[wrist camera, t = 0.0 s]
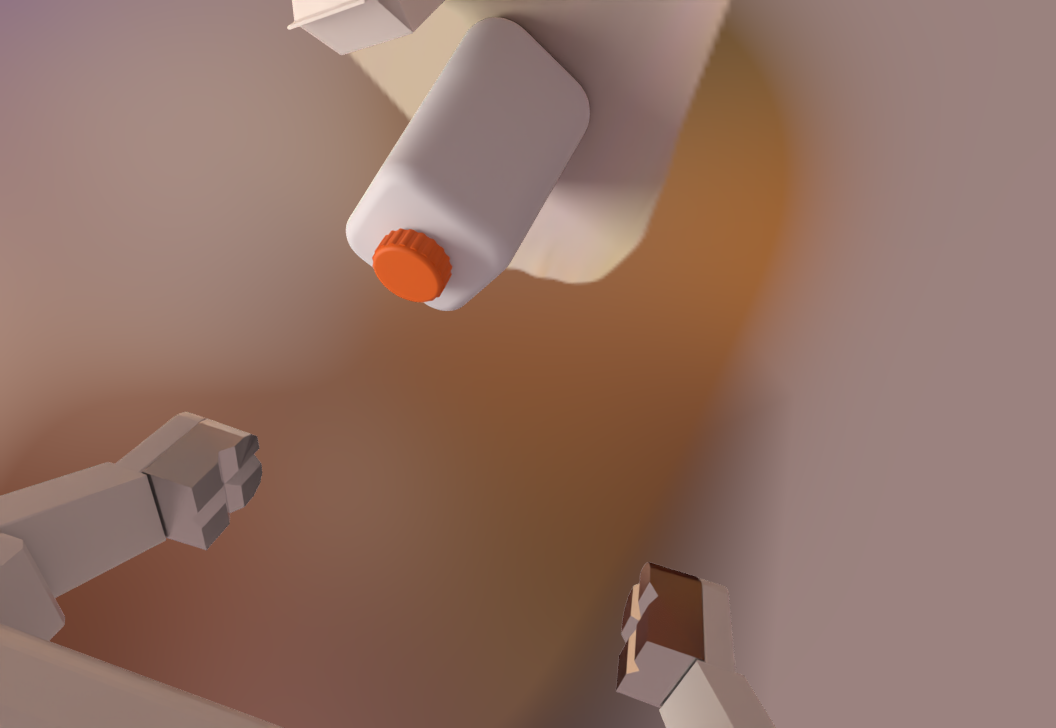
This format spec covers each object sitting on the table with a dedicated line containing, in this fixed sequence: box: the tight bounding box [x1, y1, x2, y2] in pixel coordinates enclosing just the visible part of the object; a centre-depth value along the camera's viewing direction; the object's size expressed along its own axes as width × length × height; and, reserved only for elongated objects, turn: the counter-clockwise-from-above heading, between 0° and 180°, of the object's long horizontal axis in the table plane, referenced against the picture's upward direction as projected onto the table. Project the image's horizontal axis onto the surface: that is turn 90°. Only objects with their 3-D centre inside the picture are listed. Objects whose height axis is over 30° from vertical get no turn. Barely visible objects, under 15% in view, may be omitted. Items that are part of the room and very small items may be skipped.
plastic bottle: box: [346, 17, 590, 311], centre depth 51 cm, size 15×15×28 cm
